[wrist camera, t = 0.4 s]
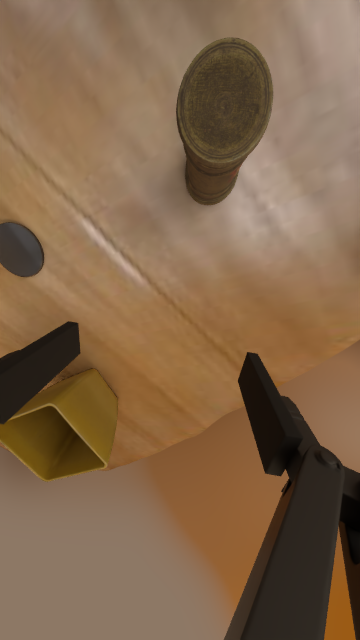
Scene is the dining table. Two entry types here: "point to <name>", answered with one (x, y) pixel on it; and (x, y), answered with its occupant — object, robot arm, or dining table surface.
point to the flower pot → (65, 428)
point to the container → (222, 115)
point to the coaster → (20, 250)
